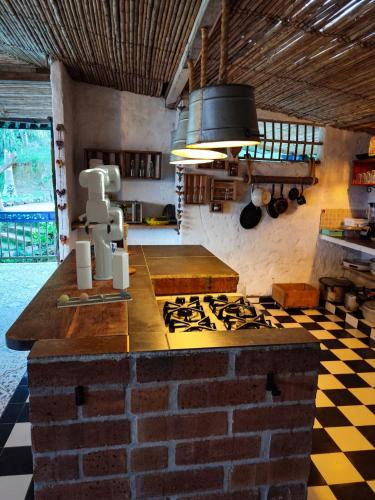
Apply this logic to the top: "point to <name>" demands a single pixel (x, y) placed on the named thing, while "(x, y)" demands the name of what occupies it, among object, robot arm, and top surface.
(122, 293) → the charcoal ball
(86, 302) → the wooden picture frame
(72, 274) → the top surface
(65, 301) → the ochre ball
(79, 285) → the cylindrical container
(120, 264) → the milk
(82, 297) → the terracotta ball
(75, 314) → the top surface
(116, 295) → the wooden rectangular frame
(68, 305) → the board
